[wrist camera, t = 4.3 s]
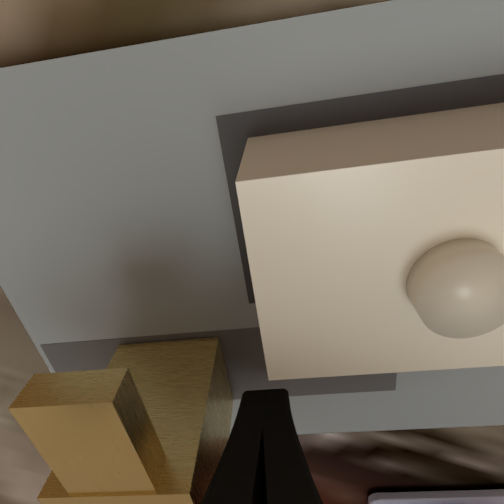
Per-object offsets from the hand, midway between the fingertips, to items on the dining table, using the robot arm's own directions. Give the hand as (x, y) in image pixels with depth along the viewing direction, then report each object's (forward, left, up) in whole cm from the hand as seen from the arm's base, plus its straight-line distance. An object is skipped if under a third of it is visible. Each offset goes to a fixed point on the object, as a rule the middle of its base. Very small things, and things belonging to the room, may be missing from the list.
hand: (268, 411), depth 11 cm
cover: (+5, -4, -2) cm, 7 cm away
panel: (+3, -2, -3) cm, 5 cm away
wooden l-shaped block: (+1, +3, -2) cm, 4 cm away
